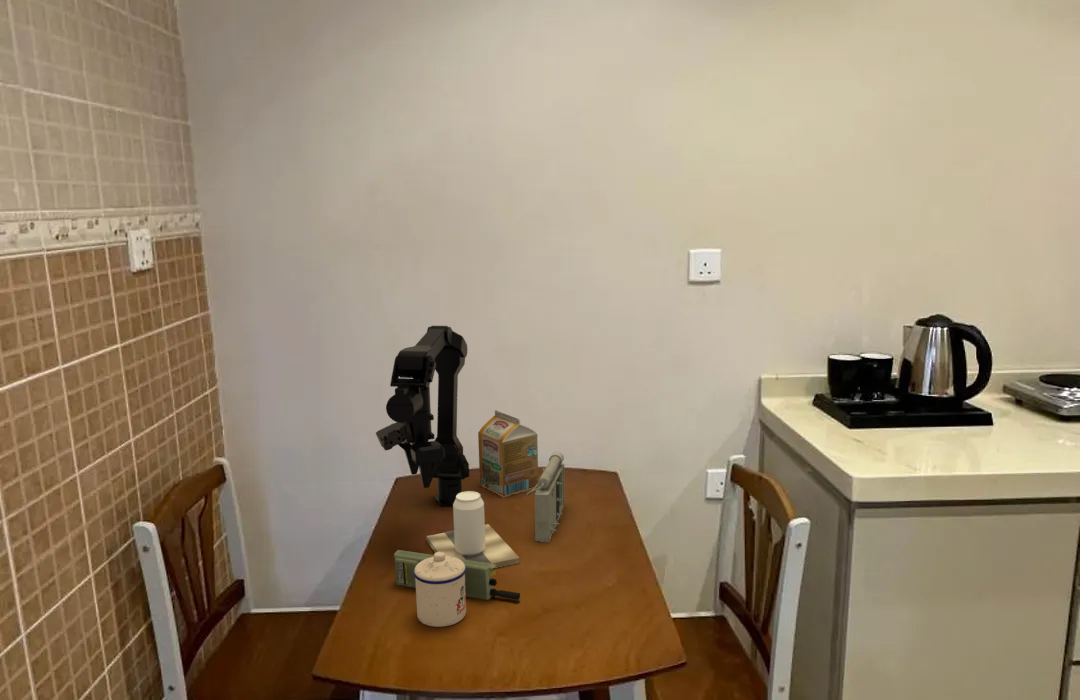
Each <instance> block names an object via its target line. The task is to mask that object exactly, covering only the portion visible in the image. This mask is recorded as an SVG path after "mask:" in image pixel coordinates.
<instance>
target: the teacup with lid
mask: <svg viewBox="0 0 1080 700" xmlns="http://www.w3.org/2000/svg"><path fill="white" fill-rule="evenodd" d="M433 555H434V557H430V558H427V559H425V560H423V561H421V562H419V563H418V564H417V565H416V567H415V569H414V576H415V581H416V588H415V596H416V597H415V598H416V600H415V601H416V613H417V614H416V616H417V619H418V621H419V622H421V624H423V625H426V626H429V627H434V628H435V627H436V628H443V627H448V626H452V625H455V624H457V623H459V622H460V621H462V620H463V619H464V618H465V616H466V614H467V596H466V590H465V572H466V567H465V564H464V563H463V562H462V561H461V560H460V559H458V558H455V557H451V556H445V554H444V553H443V552H436V553H435V552H434V554H433Z"/></svg>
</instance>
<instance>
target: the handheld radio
mask: <svg viewBox="0 0 1080 700" xmlns="http://www.w3.org/2000/svg"><path fill="white" fill-rule="evenodd" d="M430 557H434V554H429V553H421V552H416V551H408V550H402V549H401V550H400V549H397V550H396V551H395V553H394V554H393V558H394V559H393V560H394V570H395V571H394V572H395V582H396V585H398V586H401V585H402V586H403V587H408V588H412V589H413V588H414V589H416V581H415V576H414V569H415V567H416V565H417V564H418V563H419V562H421V561H423V560H425V559H427V558H430ZM460 560H461V561H462V562H463V563H464V564H465V567H466V572H465V590H466V598H467V597H468V598H474V599H479V600H480V599H481V600H484V601H485V600H486V601H487V600H490V599H491V598H492V597H499V598H503V599H509V600H514V601H519V600H520V598H521V593H520V592H517V591H516V592H515V591H509V590H501V589H499V590H497V589H495V588H494V586H496V585H497V583H498V582H497V579H496V578H493V576H495V575H496V569H494V567H495V566H496V565H495V564H491V563H484V562H477V561H470V560H464V559H460Z"/></svg>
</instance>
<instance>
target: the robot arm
mask: <svg viewBox="0 0 1080 700" xmlns="http://www.w3.org/2000/svg"><path fill="white" fill-rule="evenodd" d="M467 356H468V344H467V341H466V340H465V338H464V336H462V335H461V334H459V333H458V332H455V331H453V329H452V328H451V326H448V325H431V326H428V327H427V330H426V333H425V334H424V335H423V336H422V337H421V338H420V339H419V340H418V342H417V343H415V345H413V346H410V347H409V346H408V347H405V348H402V349H401V350H399V352H398V353H397V355H396V356H395V358H394V363H393V368H392V374H391V378H390V383H389V387H391V388H392V387H395V388H394V394H393V395H392V396H390V397H389V398H388V400H387V402H386V405H385V410H386V413H387V416H388V417H389V418H390V420H392V421H393V422H394V423H391V424H389V425H386V426H385V427H383V428H381V429H379V430H378V431H376V432H375V435H376V437H377V440H378V442H379V445H380V446H381V447H382V448H383V449H384V451H389V450H391V449H393V448H394V447H395V446H399V447H400V448H401V449H402V450H404V455H405V458H406V461H407V464H408V466H409V471H410V473H411V475H412V476H413V475H417V474H418V471H419V473H420V478H421V483H422V488H424V489H427V488H429V487H430V486H431V483H432V480H433V479H437V492H438V493H437V494H434V496H433V498H434V500H435V501H436V502H437V503H438V504H439V505H440V506H441V507H446V506H453V503H454V501H455V499H456V495H457V494H459V493H461V492H463V486H462V485H463V484H462V480H465V479H466V478H469V477H470V464H469V461H468V459H467V458H466V456H465V454H464V446H463V445H462V443H461V441H460V439H459V438H458V436H457V435H458V433H457V432H458V429H457V428H458V426H457V425H458V386H459V385H458V383H459V382H458V381H459V377H458V376H459V374H460V372H461V371H462V369H463V368H464V366H465V365H466V364H465V363H466V358H467ZM435 372H436V373H437V375H438V376H437V381H438V382H437V421H436V422H437V423H436V424H437V425H436V429H437V430H436V437H435V434H434V432H433V431H432V421H434V419H435V417H434V414H433V413H432V411H431V392H430V391H431V390H430V388H431V387H430V384H431V383H433V380H434V376H435ZM429 440H430V441H429Z"/></svg>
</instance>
